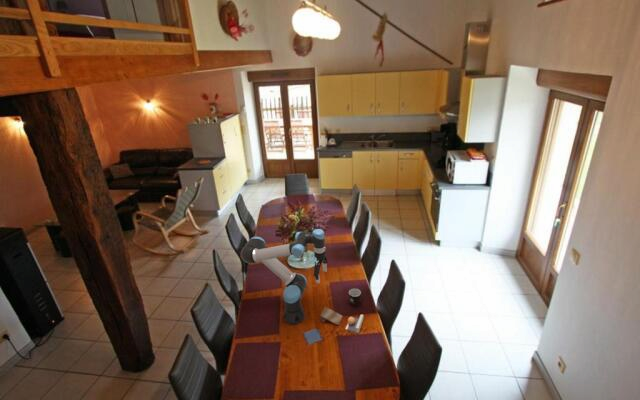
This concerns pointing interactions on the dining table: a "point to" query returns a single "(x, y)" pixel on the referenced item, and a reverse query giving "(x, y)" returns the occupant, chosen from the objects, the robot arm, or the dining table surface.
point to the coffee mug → (355, 297)
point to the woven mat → (312, 336)
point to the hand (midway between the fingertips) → (321, 276)
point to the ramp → (330, 316)
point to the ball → (351, 320)
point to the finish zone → (356, 324)
